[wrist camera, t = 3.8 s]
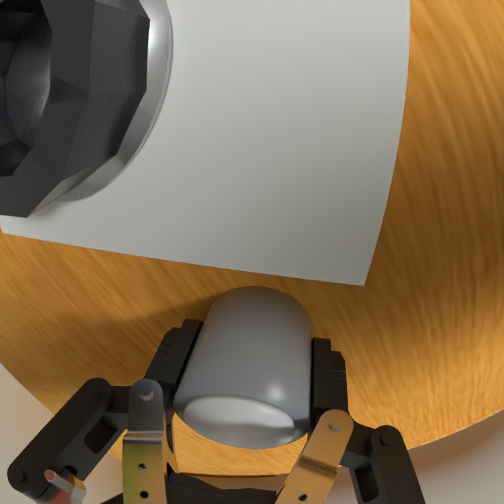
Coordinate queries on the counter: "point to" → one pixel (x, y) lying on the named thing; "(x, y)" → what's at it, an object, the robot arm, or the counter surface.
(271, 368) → the cap
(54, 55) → the black faceted bowl
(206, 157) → the mat
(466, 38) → the counter surface
